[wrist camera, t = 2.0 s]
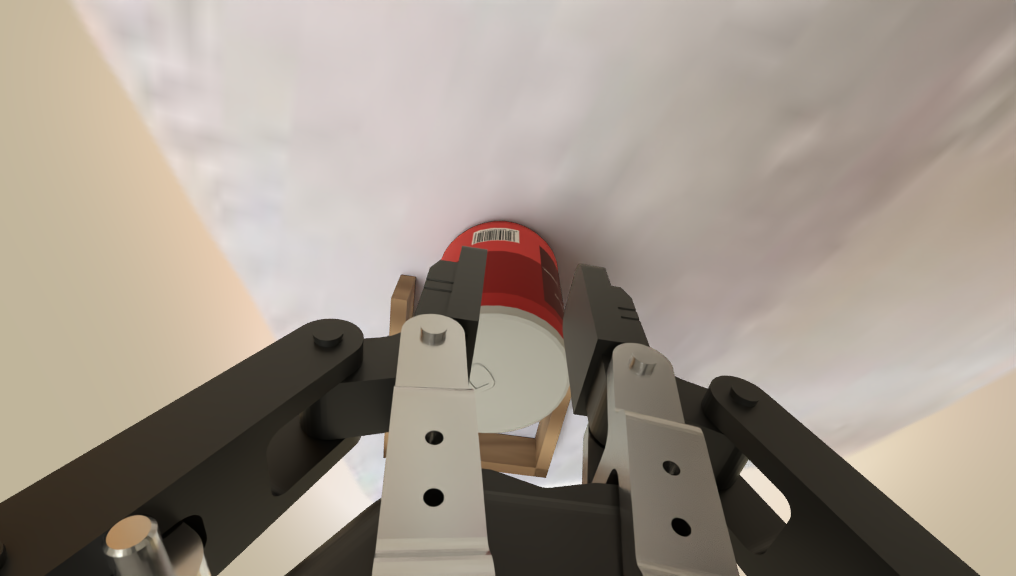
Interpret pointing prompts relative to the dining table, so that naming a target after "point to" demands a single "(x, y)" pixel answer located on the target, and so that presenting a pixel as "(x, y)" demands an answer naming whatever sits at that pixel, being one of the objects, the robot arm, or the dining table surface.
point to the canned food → (516, 328)
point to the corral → (494, 448)
